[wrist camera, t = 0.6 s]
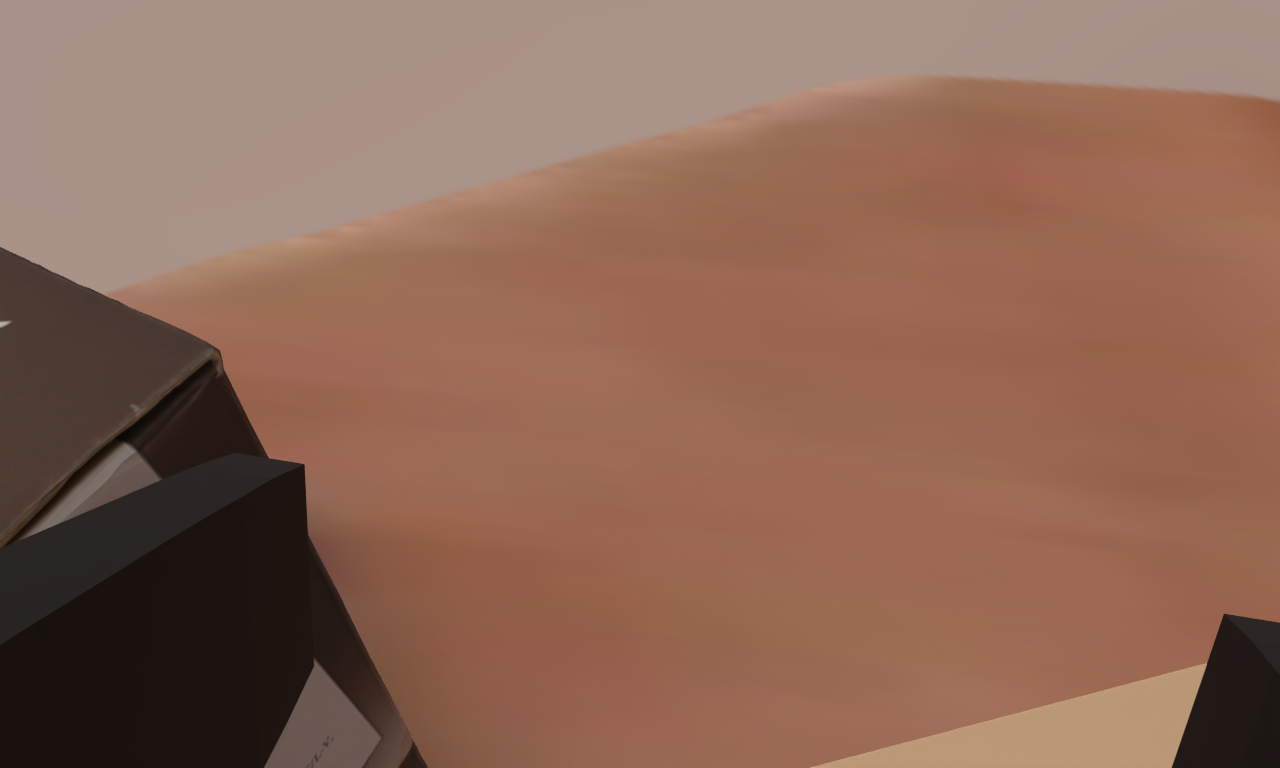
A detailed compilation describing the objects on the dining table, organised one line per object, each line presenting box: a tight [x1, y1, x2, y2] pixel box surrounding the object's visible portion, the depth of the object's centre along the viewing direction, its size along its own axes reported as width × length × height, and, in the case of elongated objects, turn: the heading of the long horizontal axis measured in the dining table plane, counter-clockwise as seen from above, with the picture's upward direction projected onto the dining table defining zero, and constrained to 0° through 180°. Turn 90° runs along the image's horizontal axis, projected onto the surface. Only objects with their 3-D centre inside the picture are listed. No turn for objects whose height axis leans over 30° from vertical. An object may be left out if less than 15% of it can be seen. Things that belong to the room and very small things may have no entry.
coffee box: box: [0, 247, 428, 768], centre depth 20 cm, size 9×6×16 cm
